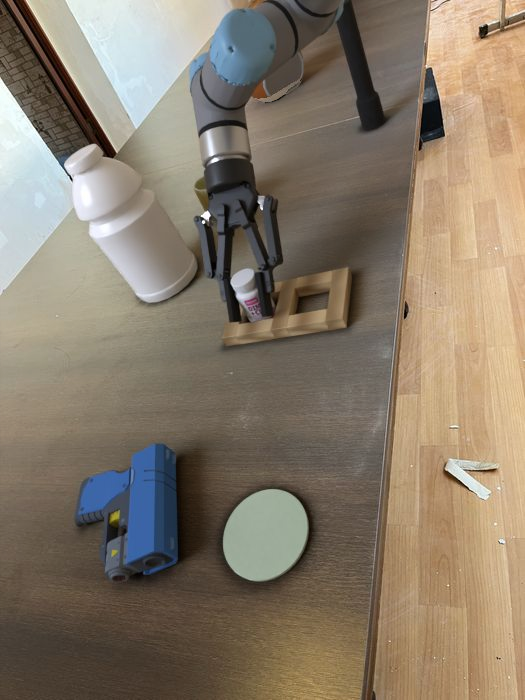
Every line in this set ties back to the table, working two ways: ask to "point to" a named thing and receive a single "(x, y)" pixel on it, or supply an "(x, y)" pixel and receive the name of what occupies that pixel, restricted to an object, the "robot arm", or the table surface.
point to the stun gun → (134, 513)
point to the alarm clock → (281, 78)
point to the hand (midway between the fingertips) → (251, 318)
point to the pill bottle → (249, 294)
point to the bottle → (130, 225)
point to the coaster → (266, 535)
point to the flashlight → (359, 70)
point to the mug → (202, 193)
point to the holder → (285, 313)
